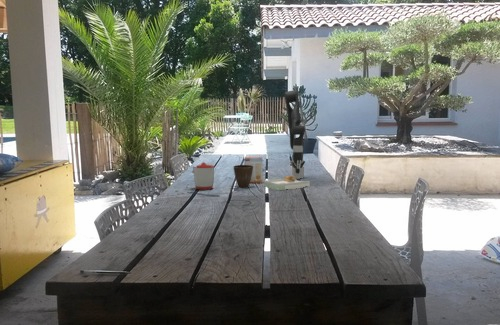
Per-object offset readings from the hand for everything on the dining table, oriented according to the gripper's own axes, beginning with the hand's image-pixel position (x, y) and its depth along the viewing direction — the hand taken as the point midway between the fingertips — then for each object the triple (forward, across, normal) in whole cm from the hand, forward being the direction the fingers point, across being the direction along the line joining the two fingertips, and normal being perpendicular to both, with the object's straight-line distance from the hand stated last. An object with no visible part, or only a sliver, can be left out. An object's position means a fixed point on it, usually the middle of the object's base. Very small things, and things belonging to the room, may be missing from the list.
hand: (297, 173), depth 378 cm
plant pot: (+9, +42, -10) cm, 45 cm away
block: (+6, +7, 0) cm, 9 cm away
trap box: (+9, +13, +5) cm, 17 cm away
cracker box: (+9, +26, -25) cm, 37 cm away
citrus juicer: (+10, +72, -20) cm, 75 cm away
